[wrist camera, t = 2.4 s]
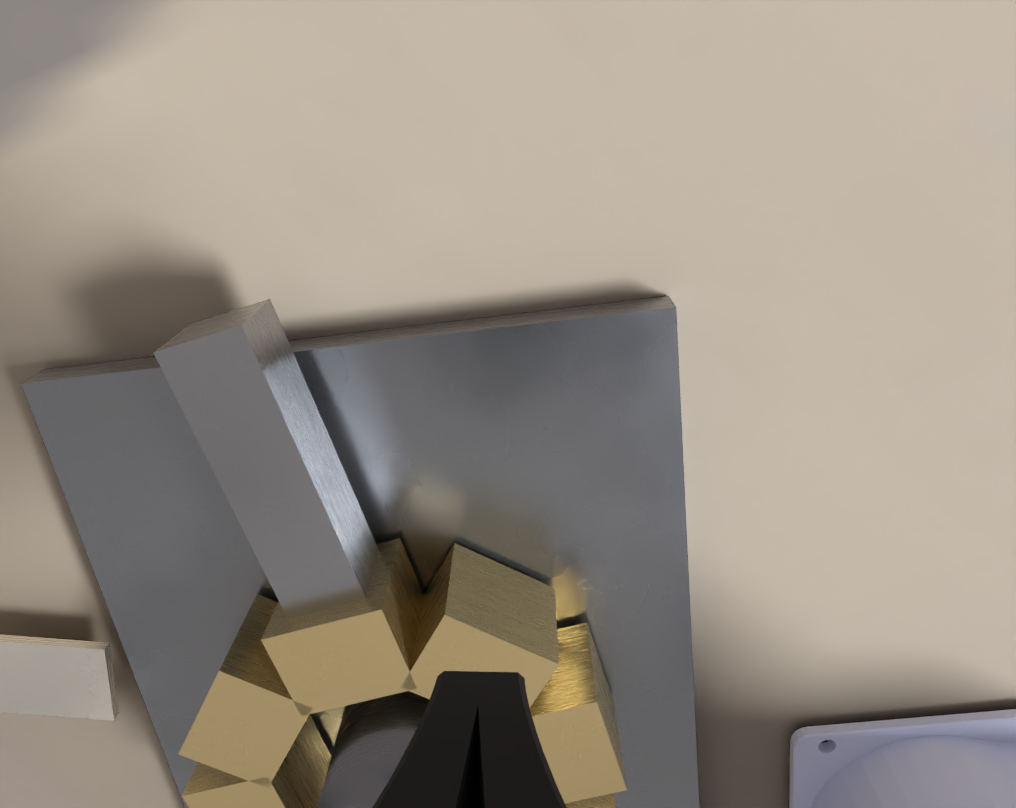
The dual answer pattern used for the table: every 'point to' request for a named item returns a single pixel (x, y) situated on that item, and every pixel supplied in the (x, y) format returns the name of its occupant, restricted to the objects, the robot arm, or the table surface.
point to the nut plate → (396, 521)
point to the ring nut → (351, 596)
